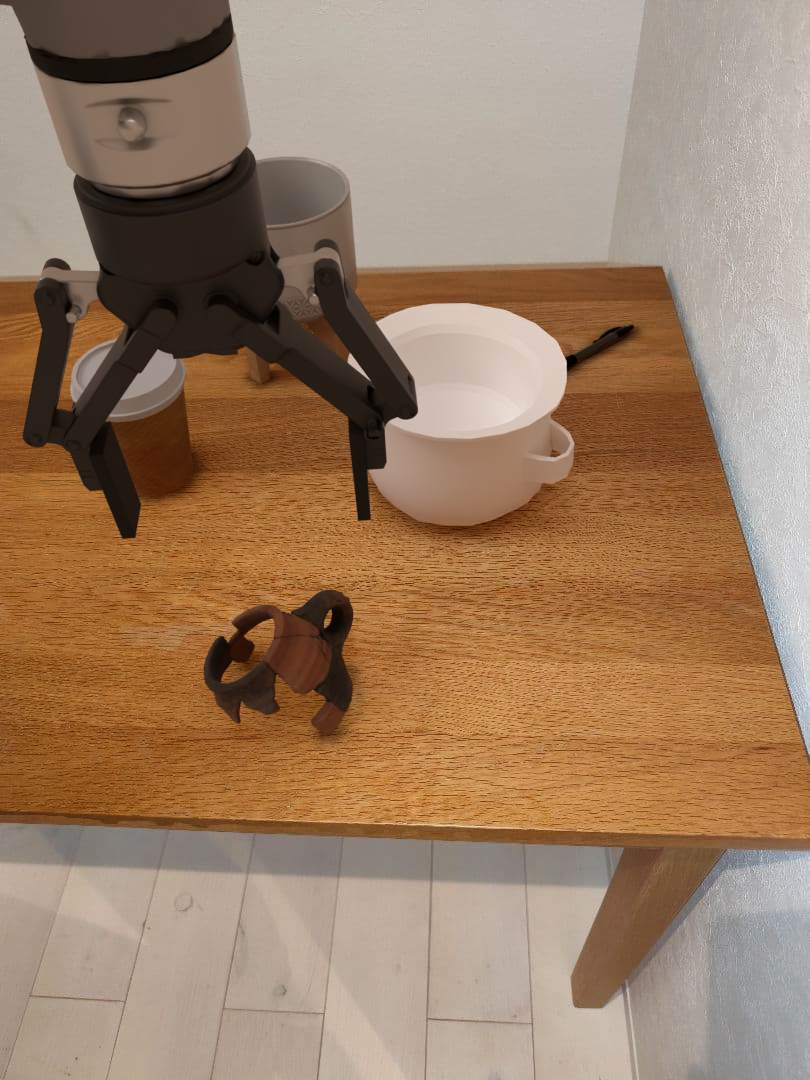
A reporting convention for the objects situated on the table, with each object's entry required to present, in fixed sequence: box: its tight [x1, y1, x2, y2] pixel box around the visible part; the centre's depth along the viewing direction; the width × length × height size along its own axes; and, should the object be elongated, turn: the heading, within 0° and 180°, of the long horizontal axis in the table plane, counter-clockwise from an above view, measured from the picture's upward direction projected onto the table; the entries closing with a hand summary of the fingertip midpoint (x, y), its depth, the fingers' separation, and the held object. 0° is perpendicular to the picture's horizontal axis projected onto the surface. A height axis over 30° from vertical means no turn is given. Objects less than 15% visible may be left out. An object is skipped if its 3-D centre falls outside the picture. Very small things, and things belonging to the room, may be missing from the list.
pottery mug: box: [203, 588, 354, 737], centre depth 65 cm, size 12×10×8 cm
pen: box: [564, 323, 635, 370], centre depth 91 cm, size 14×2×1 cm, turn 128°
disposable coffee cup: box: [69, 338, 194, 497], centre depth 78 cm, size 10×10×12 cm
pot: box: [348, 302, 575, 527], centre depth 76 cm, size 22×17×12 cm
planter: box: [244, 156, 358, 384], centre depth 87 cm, size 13×13×18 cm
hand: (248, 513), depth 52 cm, fingers open, 13 cm apart
